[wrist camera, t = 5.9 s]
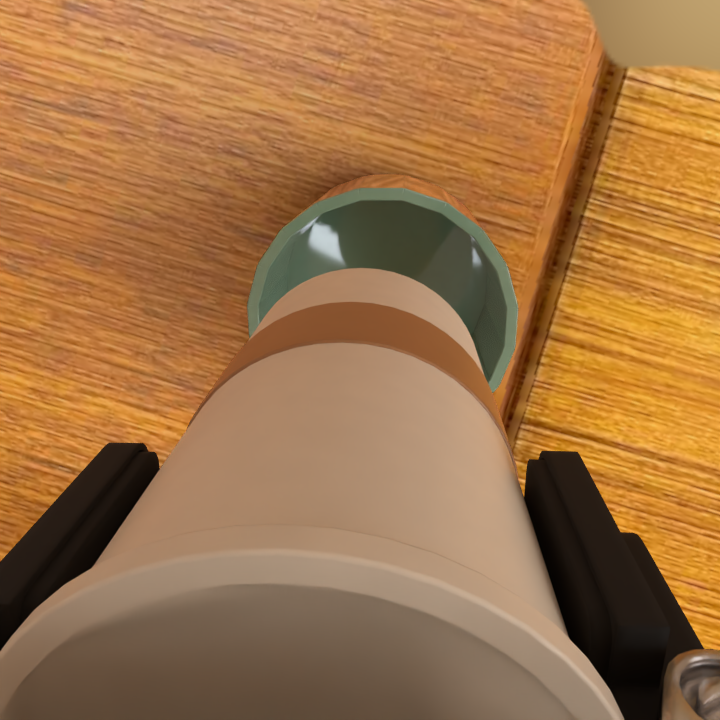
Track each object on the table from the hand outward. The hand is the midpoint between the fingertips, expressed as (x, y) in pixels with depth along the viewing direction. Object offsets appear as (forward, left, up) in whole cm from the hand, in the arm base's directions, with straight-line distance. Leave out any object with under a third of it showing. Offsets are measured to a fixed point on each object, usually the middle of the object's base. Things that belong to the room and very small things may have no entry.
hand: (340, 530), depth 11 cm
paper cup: (0, 0, -6) cm, 6 cm away
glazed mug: (0, -2, -19) cm, 19 cm away
